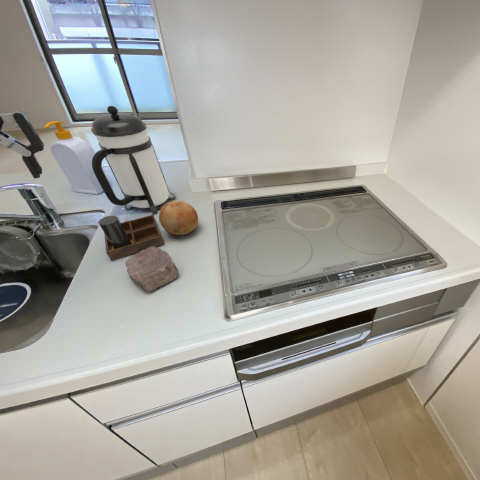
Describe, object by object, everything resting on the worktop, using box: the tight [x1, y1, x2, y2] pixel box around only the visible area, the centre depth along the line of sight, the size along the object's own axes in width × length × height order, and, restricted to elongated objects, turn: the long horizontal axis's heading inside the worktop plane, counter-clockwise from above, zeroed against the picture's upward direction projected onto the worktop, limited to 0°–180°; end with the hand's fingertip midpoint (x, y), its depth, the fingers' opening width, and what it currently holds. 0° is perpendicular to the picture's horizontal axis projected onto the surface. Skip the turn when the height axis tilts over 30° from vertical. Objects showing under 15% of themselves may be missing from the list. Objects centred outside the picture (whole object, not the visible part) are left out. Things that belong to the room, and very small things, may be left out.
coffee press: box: [90, 105, 176, 215], centre depth 77 cm, size 17×16×30 cm
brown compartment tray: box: [103, 214, 166, 262], centre depth 72 cm, size 12×12×3 cm
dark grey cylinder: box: [98, 215, 132, 249], centre depth 66 cm, size 4×4×9 cm
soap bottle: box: [44, 120, 112, 195], centre depth 85 cm, size 9×7×23 cm
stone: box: [124, 246, 179, 292], centre depth 62 cm, size 12×9×5 cm
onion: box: [158, 200, 199, 236], centre depth 73 cm, size 10×10×10 cm
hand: (3, 181), depth 44 cm, fingers open, 8 cm apart
